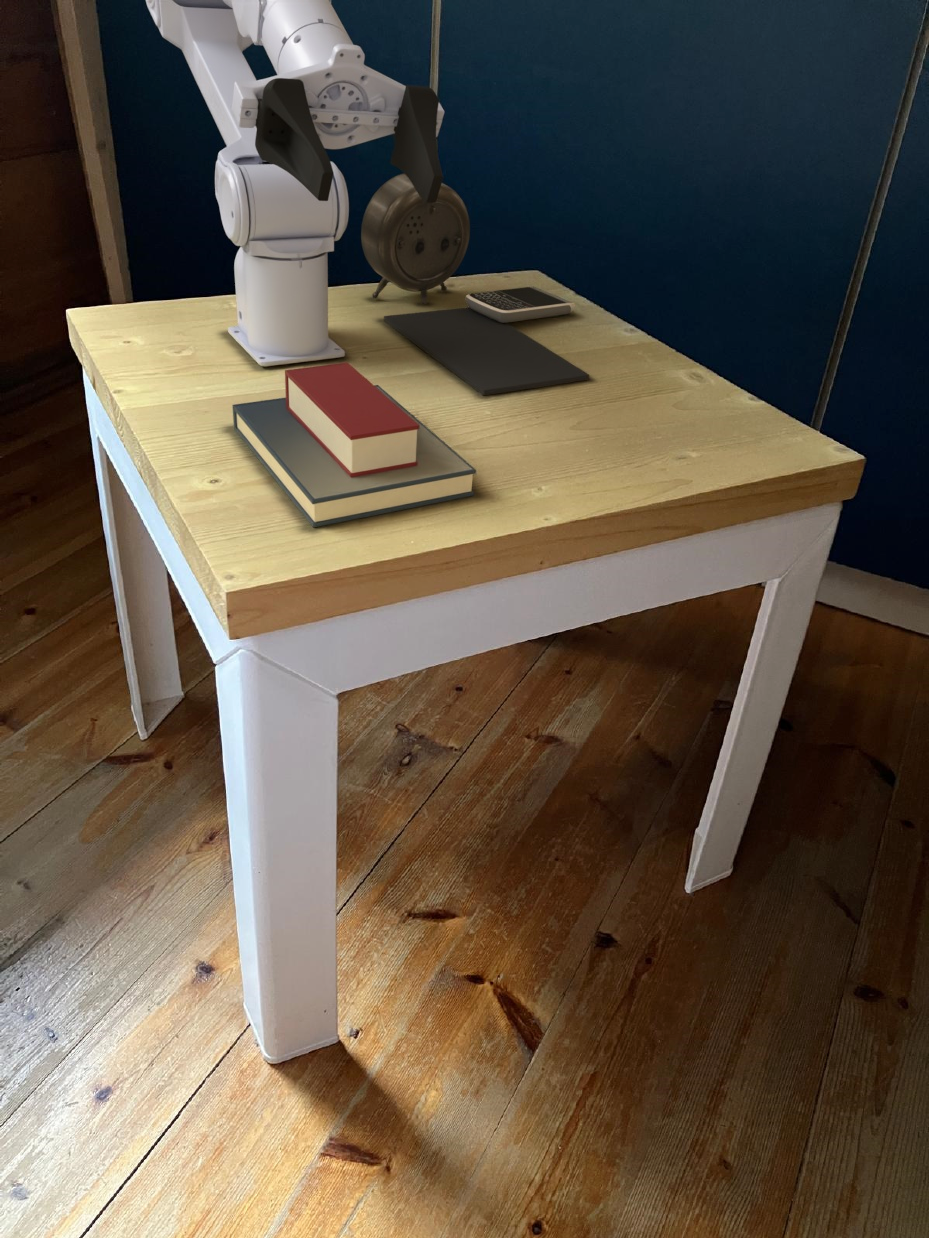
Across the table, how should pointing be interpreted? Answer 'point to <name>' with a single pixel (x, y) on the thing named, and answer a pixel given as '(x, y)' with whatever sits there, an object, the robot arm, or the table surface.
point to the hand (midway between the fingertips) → (381, 188)
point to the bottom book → (328, 487)
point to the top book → (351, 419)
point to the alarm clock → (414, 236)
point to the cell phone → (518, 304)
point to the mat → (485, 350)
